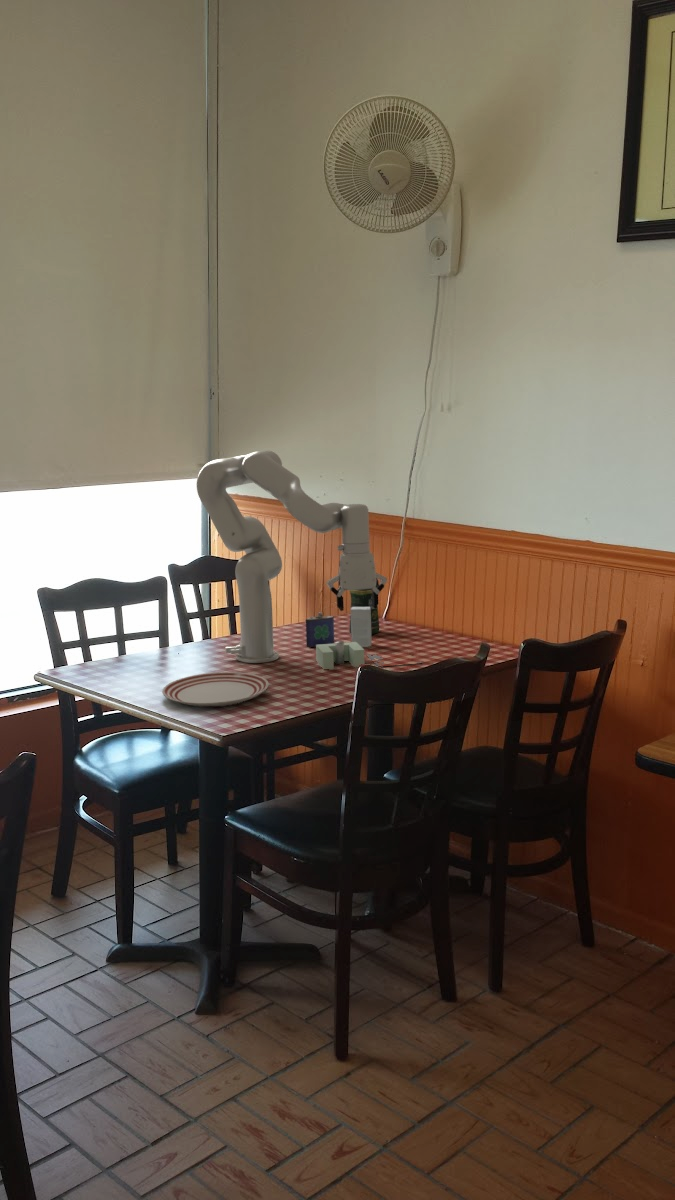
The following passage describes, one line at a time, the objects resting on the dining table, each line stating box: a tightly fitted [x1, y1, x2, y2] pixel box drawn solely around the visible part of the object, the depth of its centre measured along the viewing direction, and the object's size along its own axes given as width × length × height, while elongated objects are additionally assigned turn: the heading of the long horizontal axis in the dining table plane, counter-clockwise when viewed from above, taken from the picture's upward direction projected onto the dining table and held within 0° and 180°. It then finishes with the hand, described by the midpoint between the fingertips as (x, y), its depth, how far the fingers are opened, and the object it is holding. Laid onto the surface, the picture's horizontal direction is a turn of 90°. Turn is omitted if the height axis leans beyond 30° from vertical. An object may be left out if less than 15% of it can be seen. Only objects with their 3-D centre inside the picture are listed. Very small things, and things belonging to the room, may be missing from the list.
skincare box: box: [350, 607, 373, 648], centre depth 328 cm, size 6×4×12 cm
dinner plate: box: [161, 671, 270, 707], centre depth 277 cm, size 28×27×3 cm
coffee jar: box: [348, 578, 380, 636], centre depth 343 cm, size 10×8×19 cm
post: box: [334, 640, 345, 665], centre depth 307 cm, size 2×2×6 cm
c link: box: [315, 641, 365, 670], centre depth 307 cm, size 10×12×5 cm
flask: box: [305, 611, 336, 648], centre depth 329 cm, size 9×3×11 cm, turn 114°
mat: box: [366, 651, 423, 668], centre depth 311 cm, size 13×14×1 cm
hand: (357, 608), depth 302 cm, fingers open, 9 cm apart
